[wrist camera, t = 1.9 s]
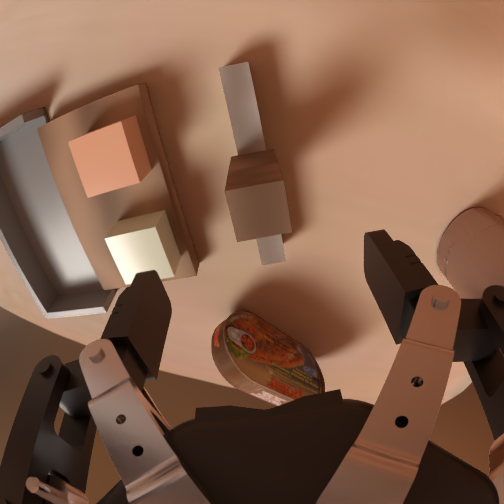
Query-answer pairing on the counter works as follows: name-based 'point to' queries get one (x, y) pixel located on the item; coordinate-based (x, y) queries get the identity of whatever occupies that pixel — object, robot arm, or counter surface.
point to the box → (43, 227)
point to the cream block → (144, 246)
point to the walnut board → (120, 200)
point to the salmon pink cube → (111, 157)
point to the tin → (264, 360)
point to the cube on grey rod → (253, 171)
